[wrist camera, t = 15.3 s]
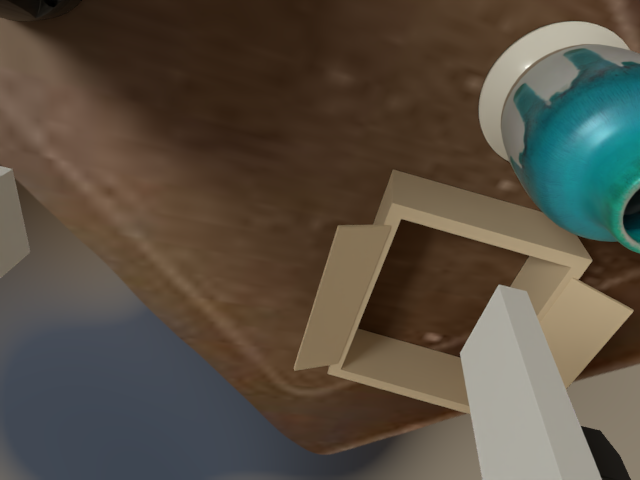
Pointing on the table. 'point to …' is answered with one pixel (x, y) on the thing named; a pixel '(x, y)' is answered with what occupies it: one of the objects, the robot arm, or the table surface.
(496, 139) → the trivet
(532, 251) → the carton
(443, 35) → the table surface
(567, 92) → the vase
